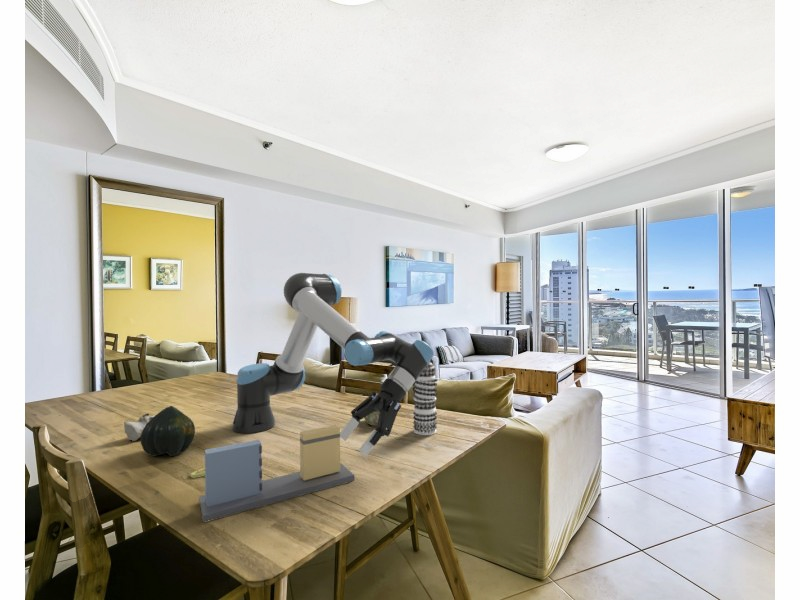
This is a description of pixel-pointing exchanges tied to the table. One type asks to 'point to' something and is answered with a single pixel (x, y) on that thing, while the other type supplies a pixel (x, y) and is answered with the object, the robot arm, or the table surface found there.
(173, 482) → the table surface
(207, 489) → the blue square panel
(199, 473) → the key
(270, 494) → the base
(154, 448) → the squash
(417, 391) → the white patterned cylinder
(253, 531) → the table surface
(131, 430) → the ceramic sculpture
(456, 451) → the table surface
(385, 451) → the table surface
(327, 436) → the tan cardboard parcel
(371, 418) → the seashell
